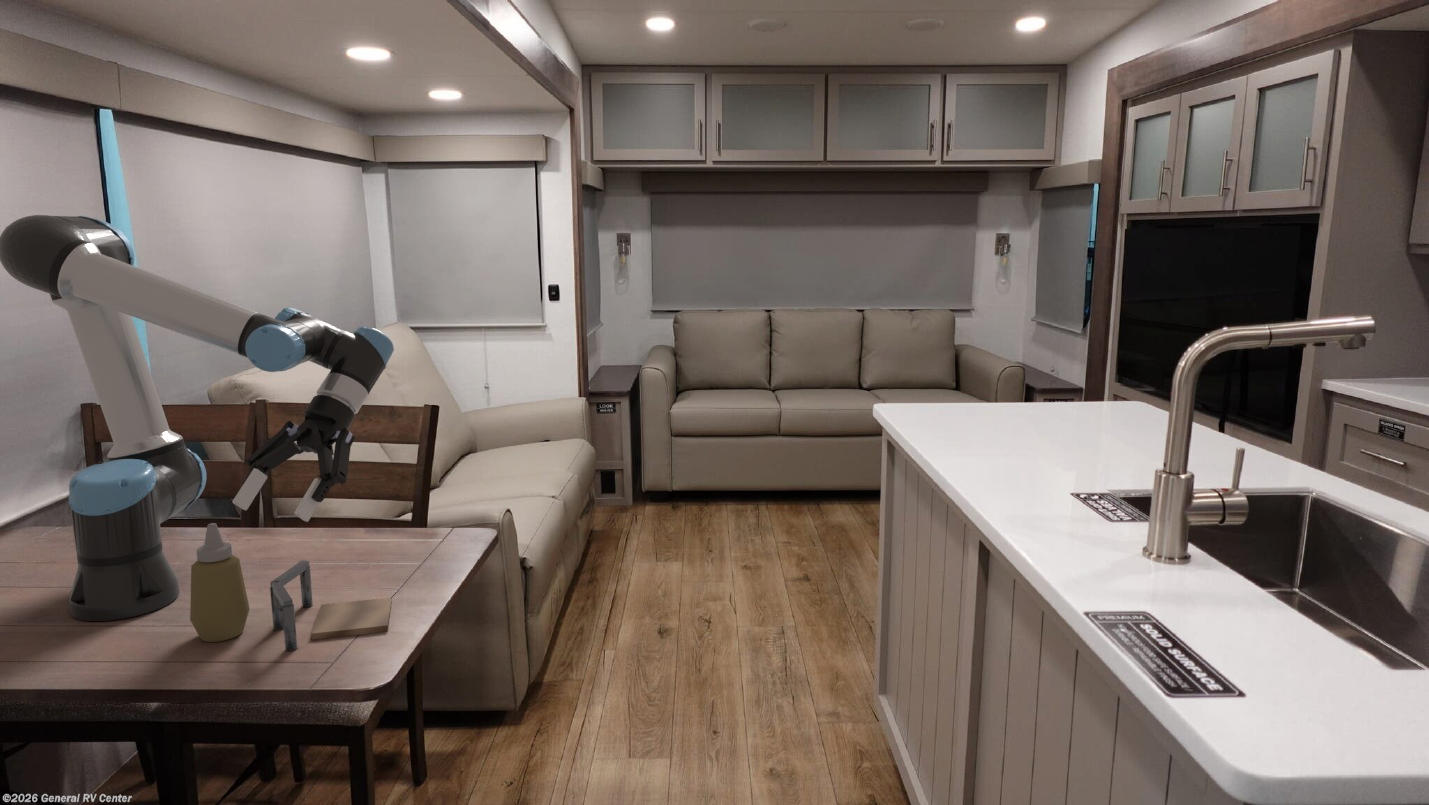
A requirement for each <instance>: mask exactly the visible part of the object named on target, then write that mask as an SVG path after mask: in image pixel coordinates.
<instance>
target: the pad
mask: <svg viewBox="0 0 1429 805" xmlns="http://www.w3.org/2000/svg"><path fill="white" fill-rule="evenodd" d="M392 604H393V599H392V597H386V598H385V597H384V598H375V599H364V600H363V599H362V600H353V601H344V602H335V603H322V604H320V608H319V610H318V613H317V617H316V620H315V622H314V625H313V628H312V631H311V640H313V641H314V640H322V639H330V638H338V637H340V638H341V637H348V636H349V637H350V636H357V635H366V634H374V633H376V634H377V633H384V632H388V631H389V626H390V620H389V619H391V613H392V612H391V610H392V606H391V605H392ZM390 612H391V613H390Z"/></svg>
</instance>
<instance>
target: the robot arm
mask: <svg viewBox="0 0 1429 805" xmlns="http://www.w3.org/2000/svg"><path fill="white" fill-rule="evenodd" d="M0 263H1V266H3V269H4V270H5V271H6V272H7V273H8V274H9V276H11V277H13V278H14V279H15V280H16V281H17V282H19V283H22V284H23V285H25V286H27V287H30V288H32V289H34V290H37V291H42V292H44V293H46V294H49V296H50V299H51V301H52V303H53V304H55V305H56V306H58V307H60V308H62V309H64V310H65V311H67V314H68V317H69V319H70V322H71V325H72V329H73V331H74V334H75V336H76V339H77V342H78V345H79V348H80V351H81V353H82V357H83V359H84V360H83V361H84V363H85V365H86V368H87V370H88V373H89V376H90V377H89V378H90V379H91V382H92V386H93V388H94V392H95V394H96V396H97V400H98V403H99V406H100V408H101V411H102V413H103V416H104V420H105V422H106V426H107V428H108V430H109V433H110V437H111V439H112V442H113V446H112V447H111V448H110V450H109V452H108V453H107V454H106V457H107V460H108V461H105V462H102V463H101V464H99V463H98V464H97V463H96V464H91V465H90V466H87V467H85V468H83V469H81V470H79V471H78V472H77V473H76V474H74V475H73V477H72V478H70V481H69V483H68V490H69V491H68V494H69V495H68V497H67V498H68V500H67V501H68V505H69V507H70V515H71V523H72V529H73V538H74V543H75V544H74V546H75V551H76V552H75V553H76V560H77V570H76V573H75V576H74V580H73V584H72V588H71V592H70V594H69V599H68V605H69V606H68V607H69V612H70V616H71V617H72V618H74V619H77V620H79V621H84V622H107V621H110V622H111V621H119V620H122V619H123V620H124V619H130V618H134V617H139V616H141V615H145V614H149V613H151V612H154V611H156V610H159V609H162V608H164V607H166V606H168V605H170V604H171V603H172V602H175V600H176V599H178V597H179V595H180V584H179V580H178V578H177V576H176V574H175V572H174V570H173V568H172V566H171V565H170V563H169V561H168V559H167V556H166V555H165V552H164V549H163V542H162V541H163V540H162V531H161V524H162V523H164V522H166V521H167V520H169V519H170V518H172V517H173V516H175V515H177V514H180V513H182V512H183V511H185V510H187V509H188V508H189V507H191V506H192V505H193V504H194V502H195V501H196V500H198V499H199V498H200V496H201V495H202V493H203V491H204V489H205V487H206V485H207V484H206V483H207V470H206V467H205V464H204V462H203V461H202V459H201V457H199V455H198V454H197V453H195V452H193V451H191V450H190V448H187V446H186V444H185V441H184V438H183V436H182V435H180V434H179V433H177V432H174V431H172V429H170V426H169V424H168V423H169V422H168V421H167V418H166V414H165V411H164V408H163V405H162V402H161V400H160V397H159V394H158V391H157V388H156V385H155V382H154V378H153V376H152V374H151V370H150V367H149V365H148V361H147V358H146V356H145V353H144V349H143V347H142V344H141V340H140V337H139V334H138V332H137V328H136V326H135V323H134V320H133V319H134V318H136V319H139V320H141V321H144V322H147V323H149V324H150V323H151V324H153V325H155V326H158V327H160V328H164V329H166V330H169V331H172V332H175V333H177V334H181V335H184V336H186V337H189V338H192V339H195V340H198V341H200V342H203V343H205V344H209V345H211V346H214V347H217V348H219V349H222V350H225V351H228V352H231V353H233V354H236V355H238V356H242V357H245V358H247V359H248V360H249V362H251V364H252V365H254V367H255V368H257V369H259V370H262V371H263V372H268V373H276V372H284V371H288V370H291V369H293V368H295V367H296V366H299V365H300V364H303V363H306V362H312V363H313V364H316V365H318V366H321V367H323V368H324V369H327V370H330V371H329V372H328V374H327V375H326V376H325V379H324V380H323V381H322V383H321V385H320V386H319V388H317V390H316V395H314V396H313V397H312V399H311V400H310V401H309V404H308V405H307V406H306V408H305V410H304V412H303V413H304V421H302V422H301V424H299V425H298V424H295V423H294V422H293V421H292V420H288V421H286V422H285V423H284V425H283V426H282V427H281V429H280V430H278V432H276V434H274V435H273V436H272V437H271V438H269V440H267V441H266V442H265V443H264V444H262V445H261V446H260V447H259V448H258V449H257V450H256V451H254V452H253V453H252V454H251V455H250V456H249V457H247V459H246V460H245V464H246V465H248V466H249V467H250V471H249V473H248V474H247V475H246V477H245V479H244V480H243V482H242V485H241V487H240V489H239V491H238V492H237V494H236V495H235V497H234V498H233V500H232V504H234V505H235V506H237V507H239V508H240V509H242V510H243V511H247V510H248V509H249V508H250V507H251V504H253V501H254V500H255V497H257V495H258V493H259V492H260V490H261V489H262V488H263V485H264V484H265V482H266V481H267V479H268V475H267V474H268V473H269V472H271V471H272V470H273V469H275V468H277V467H278V466H280V465H281V464H283V463H284V462H286V461H288V460H289V459H291V458H292V457H294V456H295V455H301V454H303V453H314V454H315V455H316V454H317V462H318V470H319V474H317V477H318V478H317V477H314V479H313V481H312V482H311V484H310V485H309V488H308V489H307V491H306V492H305V494H304V495H303V497H302V499H301V500H300V502H299V504H298V506H297V508H296V509H295V510H294V512H293V514H294V515H295V516H297V518H299V519H301V520H302V521H304V522H306V523H308V522H309V521H310V519H311V518H312V516H313V514H314V513H315V511H316V509H317V507H318V506H319V503H322V502H323V501H324V499H326V496H327V495H328V493H329V491H330V490H331V487H334V486H335V485H337V484H340V485H345V483H347V479H348V478H347V477H348V470H349V465H350V464H349V463H350V455H351V447H352V445H353V443H354V440H355V439H356V436H355V435H354V434H353V433H352V432H351V431H350V430H349V428H350V427H351V425H352V423H353V421H354V419H355V417H356V416H355V415H356V414H358V413H359V411H360V410H361V408H362V406H363V404H364V403H365V401H366V399H367V398H368V396H369V394H370V392H371V391H372V389H373V388H374V386H375V385H376V383H377V382H378V380H379V378H380V377H381V375H382V374H383V372H384V371H385V369H386V367H387V364H388V362H389V360H390V358H391V356H392V354H393V353H394V351H395V348H394V344H393V341H392V340H391V338H389V337H388V336H387V335H386V334H385V333H383V332H382V331H380V330H379V329H377V328H374V327H368V326H360V327H358V328H356V330H354V331H353V332H350V331H347V330H343V329H342V328H339V327H337V326H335V325H333V324H330V323H328V322H327V321H324V320H322V319H320V318H317V317H316V316H313V315H312V314H310V313H308V312H307V311H301V310H299V309H297V308H294V307H284V308H283V309H282V310H281V311H280V312H277V315H276V316H275V317H271V316H268V315H265V314H263V313H260V312H258V311H256V310H253V309H250V308H247V307H244V306H241V305H239V304H236V303H234V302H232V301H228V300H226V299H223V298H220V297H219V296H218V297H217V296H215V295H212V294H211V293H208V292H204V291H201V290H198V289H196V288H193V287H191V286H188V285H185V284H183V283H181V282H177V281H175V280H172V279H169V278H167V277H164V276H161V275H159V274H156V273H153V272H151V271H147V270H145V269H143V268H139V267H137V266H135V252H134V248H133V246H132V244H131V242H130V240H129V239H128V237H127V235H125V234H124V233H123V232H122V231H121V230H120V229H118V227H116V226H114V225H112V224H111V223H109V222H107V221H104V220H102V219H98V218H94V217H93V218H92V217H90V216H89V217H88V216H84V215H78V216H76V215H75V216H71V215H70V216H69V215H67V216H66V215H64V216H63V215H48V214H47V215H46V214H45V215H44V214H33V215H27V216H23V217H21V218H19V219H16V220H15V221H13V222H11V223H10V224H9V225H8V226H6V227H5V228H4V230H3V231H2V232H1V234H0Z"/></svg>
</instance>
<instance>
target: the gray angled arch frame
mask: <svg viewBox="0 0 1429 805" xmlns="http://www.w3.org/2000/svg"><path fill="white" fill-rule="evenodd" d="M309 561H310V560H300V561H299V562H298V563H296V564H294V566H292V567H290V568H289V569H287V570H286V571H284V572H283V573H282V574H280V575H278V577H276V578H274V579H273V580H272V581H270V586H269V592H270V605H271V606H270V607H271V615H272V628H273V629H272V630H273V631H282V630H283V635H284V636H283V637H284V647H285V648H284V650H285V652H287V653H288V652H295V651H296V650H297V649H298V643H297V642H298V641H297V638H298V637H297V628H296V616H295V615H296V613H295V605H294V602H293V598H292V597H291V595H290V594H289V593H288V591H287V589H286V588H285V587H284V586H286V585H287V584H288V583H290V582H292V581H293V580H294V579H295V578H297V577H298V576H299V583H300V598H301V607H302V608H304V609H305V608H311V607H312V606H314V605H313V592H312V590H313V589H312V578H311V577H312V576H311V566H310V562H309Z"/></svg>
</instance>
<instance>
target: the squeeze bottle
mask: <svg viewBox="0 0 1429 805" xmlns="http://www.w3.org/2000/svg"><path fill="white" fill-rule="evenodd" d="M196 556H197V557H196V559H197V560H196V561H195V562H194V563H193V564H192V565H191V566H190V567H191V568H190V608H189V610H190V612H189V615H190V616H189V620H190V622H191V624H192V626H193V627H194V630H195V631H196V633H197V635H198V637H199V639H200V640H202V641H204V642H208V643H209V642H210V643H213V642H214V643H215V642H216V643H217V642H222V641H227V640H230V639H234V638H236V637H237V636H239V635H241V634H242V633H243V632H244V630H245V626H246V623H247V619H248V615H249V613H250V604H249V600H248V594H247V590H246V589H247V588H246V585H245V579H244V575H243V571H242V566H241V561H240V558H239V557H237V556H235V555H233V550H232V544H231V543H230V542H224V541H223V538H222V535H221V532H220V530H219V528H218V524H217V523H215V522H213V523H212V522H211V523H208V524H207V527H206V533H205V539H204V544H203V545H201V546H198V547H197V548H196Z"/></svg>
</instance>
